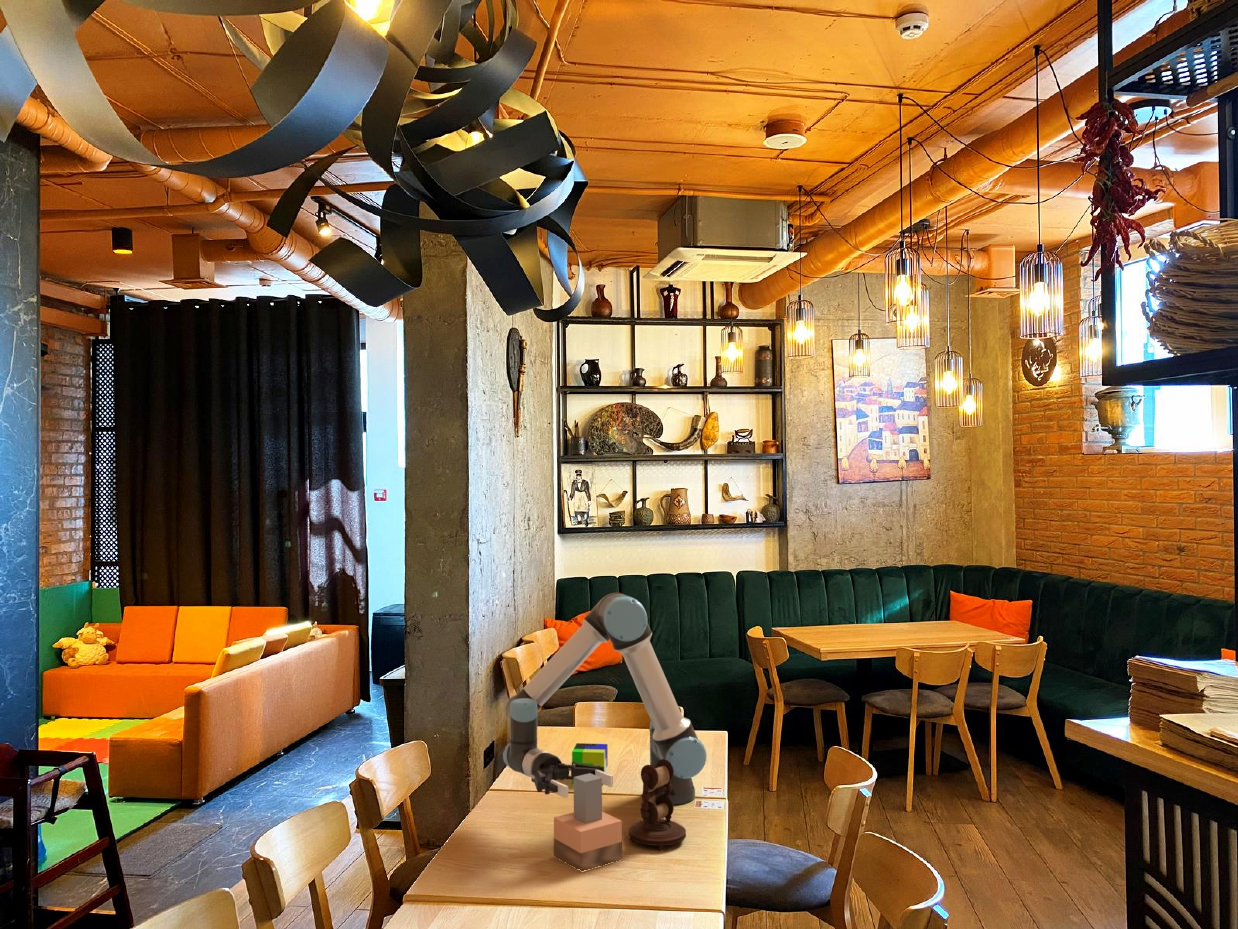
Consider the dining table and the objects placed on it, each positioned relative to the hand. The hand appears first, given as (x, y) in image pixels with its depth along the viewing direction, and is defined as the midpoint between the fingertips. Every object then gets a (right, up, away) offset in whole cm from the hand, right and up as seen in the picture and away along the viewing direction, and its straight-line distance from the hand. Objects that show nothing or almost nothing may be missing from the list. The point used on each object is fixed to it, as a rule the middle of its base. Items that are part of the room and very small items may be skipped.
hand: (589, 786), depth 216 cm
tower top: (-1, -13, 0) cm, 13 cm away
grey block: (-1, -8, 0) cm, 8 cm away
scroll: (+17, -18, +11) cm, 28 cm away
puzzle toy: (-2, -21, +62) cm, 66 cm away
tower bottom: (-1, -18, 0) cm, 18 cm away
